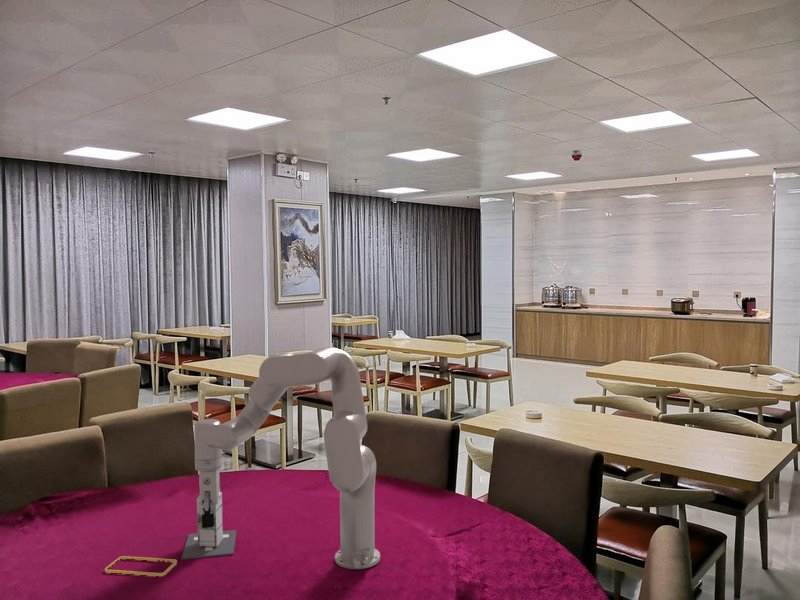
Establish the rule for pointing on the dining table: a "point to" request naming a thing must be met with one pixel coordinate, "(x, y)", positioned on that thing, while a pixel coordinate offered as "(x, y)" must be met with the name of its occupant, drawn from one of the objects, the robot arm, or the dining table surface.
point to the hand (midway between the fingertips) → (209, 520)
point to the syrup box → (211, 534)
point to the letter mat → (200, 552)
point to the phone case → (142, 572)
